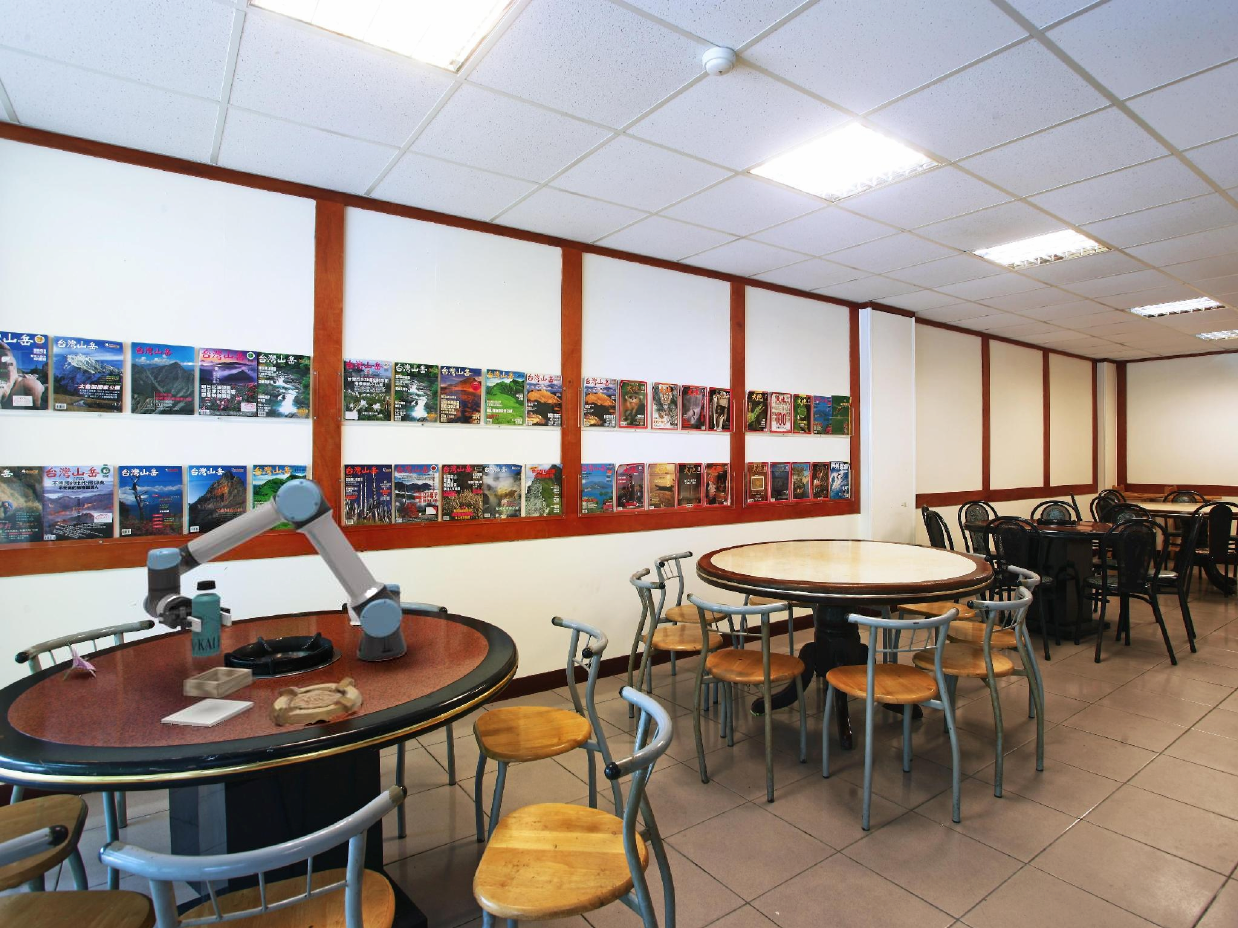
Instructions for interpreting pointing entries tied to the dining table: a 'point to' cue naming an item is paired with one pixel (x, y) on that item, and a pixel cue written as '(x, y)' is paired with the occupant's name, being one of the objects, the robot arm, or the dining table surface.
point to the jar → (352, 613)
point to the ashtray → (315, 703)
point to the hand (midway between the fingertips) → (214, 623)
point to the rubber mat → (208, 712)
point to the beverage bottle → (206, 621)
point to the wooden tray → (217, 682)
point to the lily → (79, 662)
